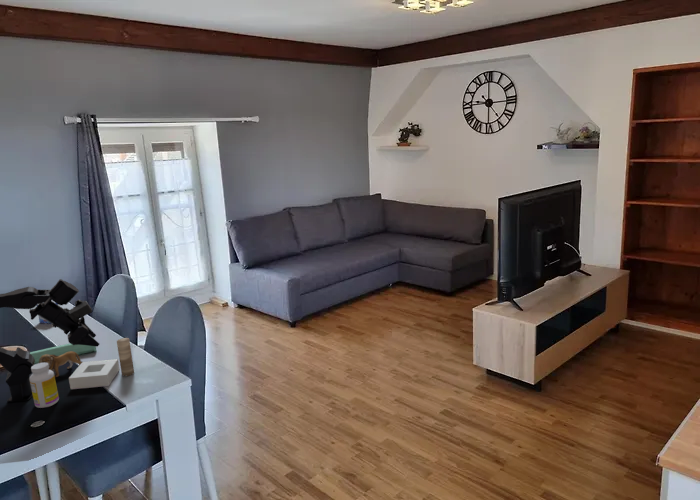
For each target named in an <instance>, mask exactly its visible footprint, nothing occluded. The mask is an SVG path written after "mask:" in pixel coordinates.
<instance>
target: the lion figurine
mask: <svg viewBox="0 0 700 500" xmlns="http://www.w3.org/2000/svg"><path fill="white" fill-rule="evenodd" d="M44 362H45V363H48V364H49V370H52V371H53V372H54V373H55V374H54V376H55V378H58V377H59V376H60V372H59V368H60V367H61V366H63V365H65V364H66V363H69V366H67V367H66V369H72V366H73V365H74V364H77V365H78V367H79V366H80V364H81V363H82V362H83V361H81V358H80V356H79V355H78V354H77V353H76V352H73V351H70V352H66V353H64V354H63V355H60V356H56V355H49V354H45V355H43V356H41V357H40V359H39V363H44ZM78 367H77V368H78Z"/></svg>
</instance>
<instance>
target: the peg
mask: <svg viewBox="0 0 700 500" xmlns="http://www.w3.org/2000/svg"><path fill="white" fill-rule="evenodd" d="M116 345H117V352H118V361H119V367H120V371H121V376H123V377H129V376H132V375H134V374H135V368H134V361H133V355H132V349H131V341H130V338H129V337H124V338H122V337H121V338H120V339H117V340H116Z"/></svg>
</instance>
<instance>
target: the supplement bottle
mask: <svg viewBox="0 0 700 500" xmlns="http://www.w3.org/2000/svg"><path fill="white" fill-rule="evenodd" d="M31 371H32V373H31V374H30V375H29V380H30V385H31V389H32V394H33V396H32V398H33V399H32V400H33V403H34V406H35V407H36V408H38V409H39V408H40V409H41V408H42V409H43V408H49V407H51V406H54V405H55V404H57V403H58V402H59V399H60V397H59V391H58V387H57V382H56V377H55V371H54V372H53V371H52V370H49V364H48V363H45V362H44V363H38V364H35V365H33V366H32V367H31Z"/></svg>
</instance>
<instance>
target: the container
mask: <svg viewBox="0 0 700 500" xmlns="http://www.w3.org/2000/svg"><path fill="white" fill-rule="evenodd" d="M70 351H73V352H76V353H77V354H78V356H79V355H83V354H88V353H92V352H94V353H95V352H97V347H96V346H88V345H72V344H71V343H69V342H68V343H66V344H62V345H57V346H53V347H47V348H44V349H43V348H42V349H39V350H35V351H29V352H30V354H31V355H32V356H33V357H34V360H35V362H34V365H35V364H38V363H39V359H40V357H41V356H43V355H45V354H49V355H56V356H60V355H63V354H64V353H66V352H70Z"/></svg>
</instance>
